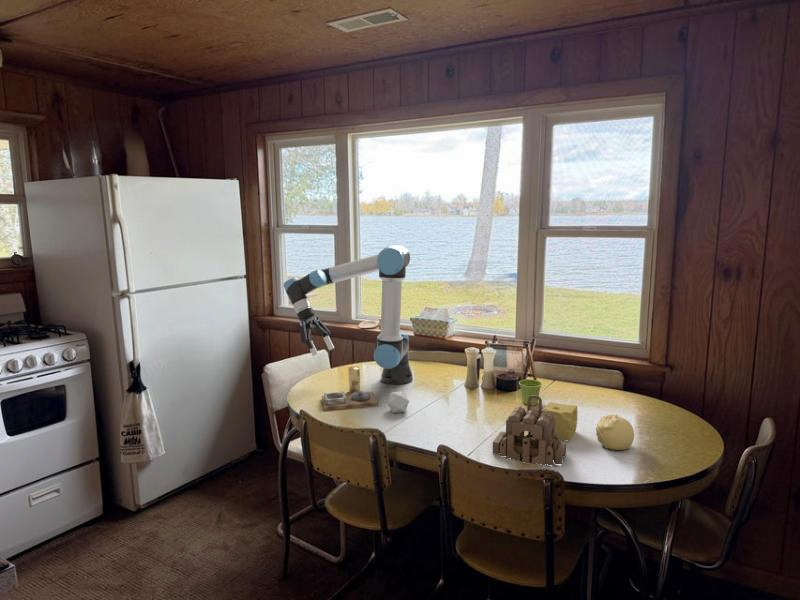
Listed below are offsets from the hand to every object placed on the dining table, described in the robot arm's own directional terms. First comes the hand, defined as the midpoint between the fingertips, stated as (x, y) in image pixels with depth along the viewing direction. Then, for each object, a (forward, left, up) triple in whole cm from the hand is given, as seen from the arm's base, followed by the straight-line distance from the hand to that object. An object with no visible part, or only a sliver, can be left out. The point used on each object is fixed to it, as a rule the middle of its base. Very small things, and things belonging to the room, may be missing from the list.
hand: (323, 352), depth 242 cm
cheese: (-77, +72, -17) cm, 107 cm away
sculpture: (-90, +86, -17) cm, 126 cm away
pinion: (-12, +8, -17) cm, 23 cm away
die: (-26, +36, -17) cm, 48 cm away
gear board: (-8, +21, -17) cm, 28 cm away
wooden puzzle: (-60, +84, -17) cm, 105 cm away
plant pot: (-81, +41, -17) cm, 93 cm away
